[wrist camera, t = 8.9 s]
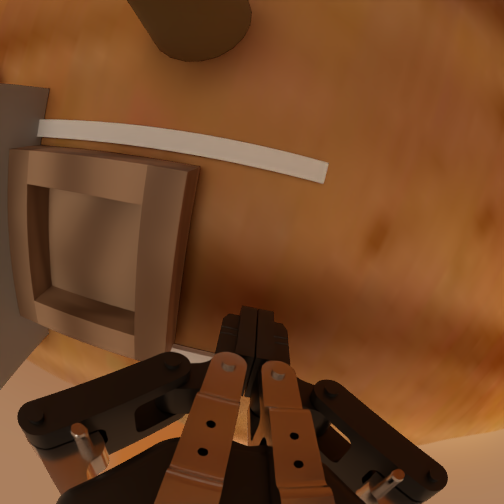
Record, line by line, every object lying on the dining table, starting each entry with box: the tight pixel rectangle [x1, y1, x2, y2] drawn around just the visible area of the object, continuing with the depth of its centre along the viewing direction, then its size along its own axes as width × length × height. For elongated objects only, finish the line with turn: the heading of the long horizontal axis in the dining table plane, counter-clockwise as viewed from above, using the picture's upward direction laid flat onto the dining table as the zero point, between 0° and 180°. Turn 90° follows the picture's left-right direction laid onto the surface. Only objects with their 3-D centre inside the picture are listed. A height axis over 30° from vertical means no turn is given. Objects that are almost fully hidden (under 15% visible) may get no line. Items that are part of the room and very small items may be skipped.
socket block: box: [7, 145, 200, 361], centre depth 17 cm, size 12×12×3 cm
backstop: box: [0, 83, 329, 390], centre depth 15 cm, size 21×20×8 cm
